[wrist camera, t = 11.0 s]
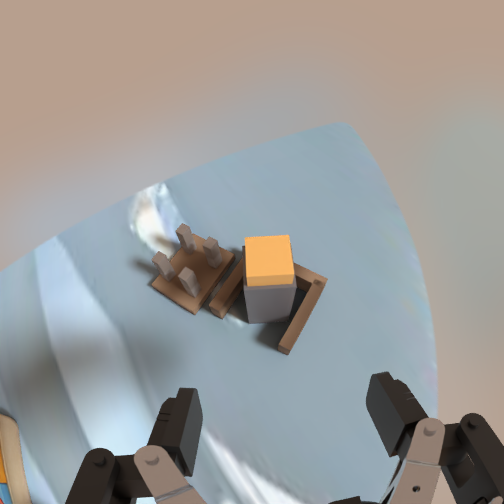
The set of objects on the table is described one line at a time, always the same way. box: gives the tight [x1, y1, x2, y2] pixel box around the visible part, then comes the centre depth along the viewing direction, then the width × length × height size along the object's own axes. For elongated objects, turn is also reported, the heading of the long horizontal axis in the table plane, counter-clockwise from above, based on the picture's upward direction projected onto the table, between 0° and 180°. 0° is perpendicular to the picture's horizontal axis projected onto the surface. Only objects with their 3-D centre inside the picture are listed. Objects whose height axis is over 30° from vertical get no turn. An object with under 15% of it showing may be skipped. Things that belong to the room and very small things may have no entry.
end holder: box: [209, 257, 328, 355], centre depth 28 cm, size 9×8×2 cm
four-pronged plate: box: [152, 223, 235, 315], centre depth 29 cm, size 6×8×5 cm
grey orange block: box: [242, 235, 297, 324], centre depth 25 cm, size 4×4×10 cm
